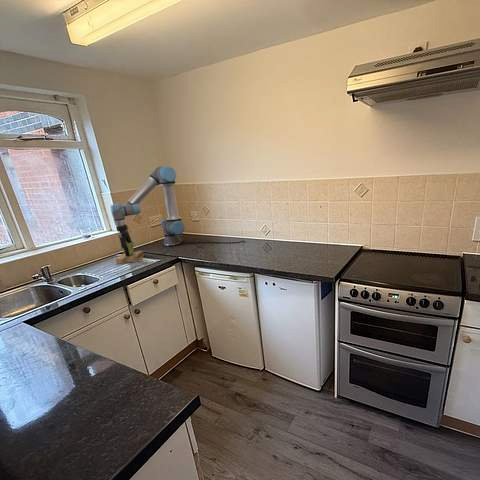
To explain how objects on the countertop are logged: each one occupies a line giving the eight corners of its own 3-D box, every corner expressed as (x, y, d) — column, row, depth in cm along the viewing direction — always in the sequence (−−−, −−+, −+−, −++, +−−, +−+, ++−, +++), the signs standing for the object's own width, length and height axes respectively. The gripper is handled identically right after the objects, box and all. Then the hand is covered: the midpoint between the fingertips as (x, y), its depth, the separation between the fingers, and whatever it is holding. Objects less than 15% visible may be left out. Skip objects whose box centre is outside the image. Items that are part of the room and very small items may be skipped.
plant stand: (144, 255, 241) (143, 250, 239) (138, 261, 226) (137, 256, 224) (124, 258, 239) (123, 253, 238) (117, 264, 225) (115, 259, 223)
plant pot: (126, 253, 235) (122, 243, 232) (138, 252, 236) (135, 241, 232) (121, 257, 227) (118, 246, 223) (134, 255, 227) (130, 244, 224)
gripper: (121, 223, 232) (129, 251, 240) (110, 229, 213) (120, 259, 221) (130, 222, 233) (138, 249, 241) (121, 227, 213) (130, 257, 221)
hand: (129, 254), depth 231 cm, fingers closed on plant pot, 8 cm apart
